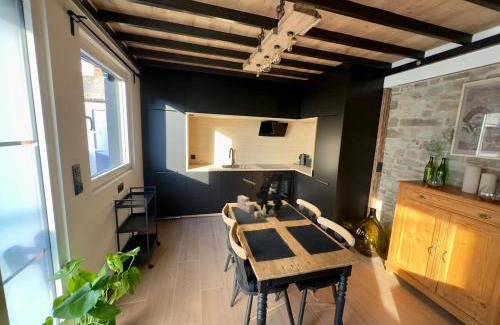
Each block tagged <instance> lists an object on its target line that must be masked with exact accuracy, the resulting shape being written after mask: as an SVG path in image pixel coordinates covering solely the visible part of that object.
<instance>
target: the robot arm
mask: <svg viewBox="0 0 500 325" xmlns="http://www.w3.org/2000/svg"><path fill="white" fill-rule="evenodd" d="M285 179H286V173H283V172H276V171H275V172H273V174H272V175H271V177H270V178H269V179H268V180H266V181H264V182H263V183H262V184H261V186H260V187H259V190H258V191H257V192H256V194H255V198H257V200H256V201H255V202H256V205H258V206H259V208H260V211H261V210H266V214H268V212H269V211H270V209H272V210H273V211H274V212H275V211H277V212H279V211H281V210H282V207H283V204H284V203H283V201H282V197H281V194H282V188H283V182H284V181H285ZM276 180H277V184H276V191H275V195H274V196H273V197H272V203H273V205H274V206H273V205H272V204H271V203H270V202H269V200H270V197H269V194H270V193H269V192H270V191H271V190H270V189H271V188H272V185H273V183H274V182H275V181H276Z"/></svg>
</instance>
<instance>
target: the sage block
mask: <svg viewBox="0 0 500 325" xmlns="http://www.w3.org/2000/svg"><path fill="white" fill-rule="evenodd" d="M260 212H261V215H263V216H265V215H267V214H266V209H263V210H261V209H260Z"/></svg>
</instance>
